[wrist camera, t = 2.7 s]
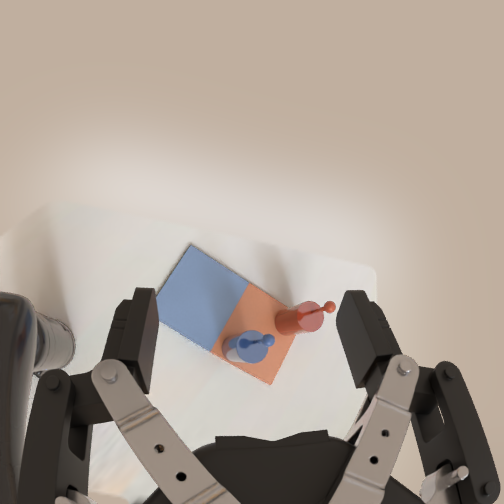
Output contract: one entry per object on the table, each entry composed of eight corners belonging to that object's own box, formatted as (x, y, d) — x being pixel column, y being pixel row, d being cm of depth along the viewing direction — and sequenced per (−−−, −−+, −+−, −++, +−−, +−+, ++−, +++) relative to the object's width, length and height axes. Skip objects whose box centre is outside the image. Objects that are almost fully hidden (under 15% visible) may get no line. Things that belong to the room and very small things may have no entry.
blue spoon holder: (241, 367, 59) (275, 370, 44) (216, 353, 58) (242, 352, 43) (254, 343, 61) (291, 337, 46) (230, 328, 61) (260, 319, 46)
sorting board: (269, 384, 61) (271, 384, 60) (146, 312, 57) (146, 311, 57) (302, 317, 67) (304, 317, 67) (190, 245, 64) (190, 244, 63)
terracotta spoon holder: (292, 340, 64) (337, 333, 49) (269, 327, 64) (310, 317, 48) (303, 317, 67) (349, 304, 52) (281, 304, 66) (324, 287, 51)
